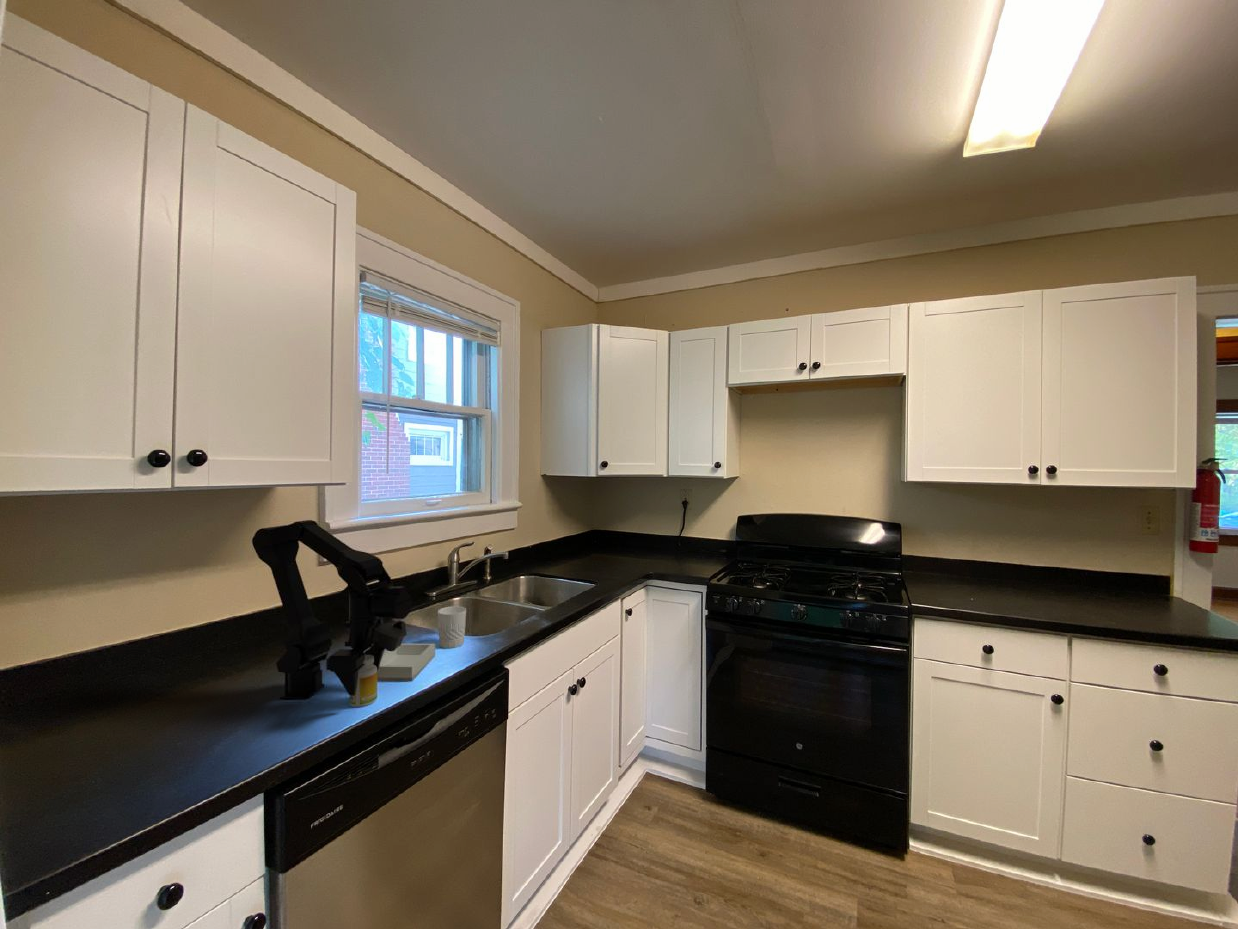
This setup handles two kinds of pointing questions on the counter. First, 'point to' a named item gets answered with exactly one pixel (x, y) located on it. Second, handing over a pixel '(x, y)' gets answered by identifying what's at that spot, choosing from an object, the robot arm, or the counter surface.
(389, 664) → the box
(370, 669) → the supplement bottle
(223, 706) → the counter surface
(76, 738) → the counter surface
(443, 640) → the white cup
